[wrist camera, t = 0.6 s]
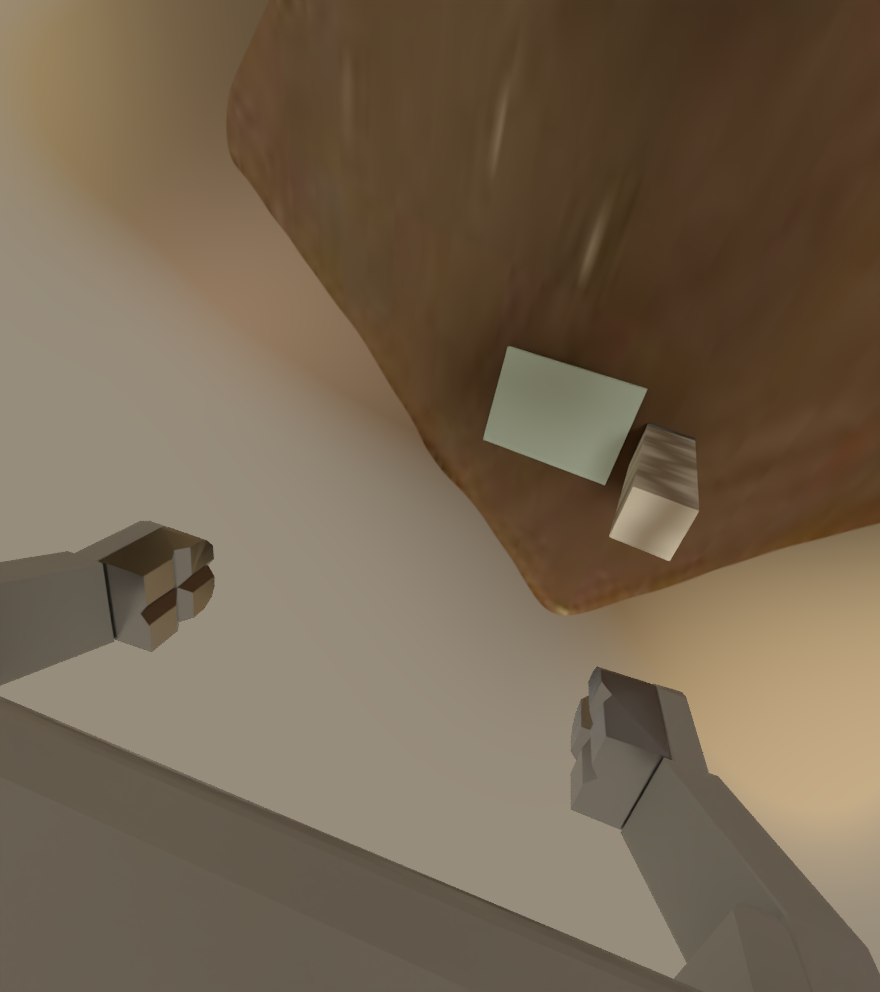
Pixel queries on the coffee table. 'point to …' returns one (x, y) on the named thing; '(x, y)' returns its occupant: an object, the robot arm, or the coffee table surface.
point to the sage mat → (562, 414)
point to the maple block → (658, 493)
